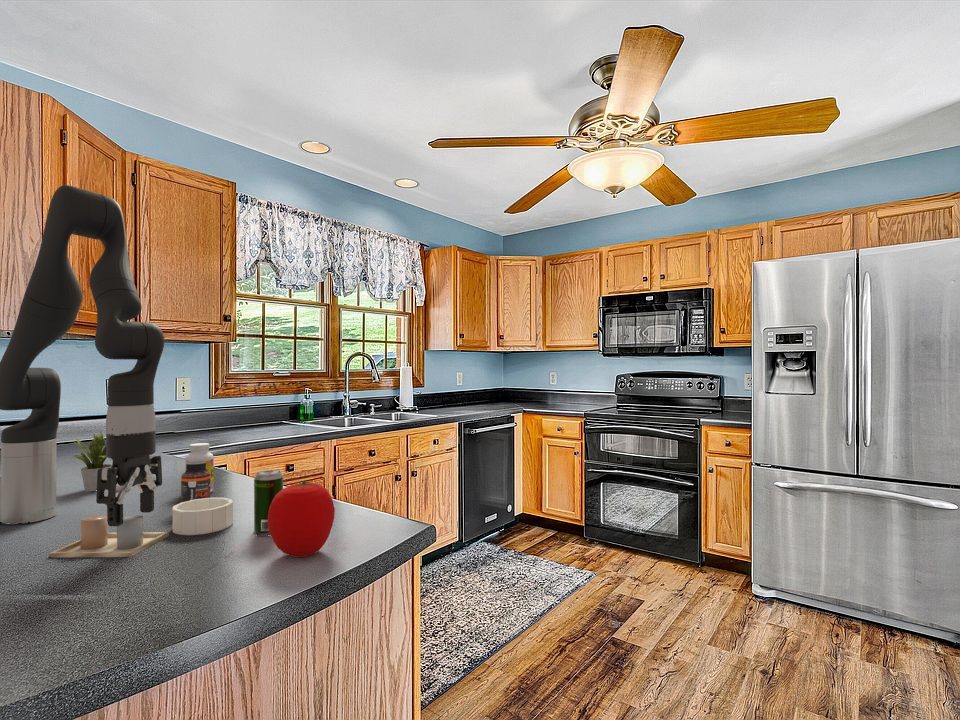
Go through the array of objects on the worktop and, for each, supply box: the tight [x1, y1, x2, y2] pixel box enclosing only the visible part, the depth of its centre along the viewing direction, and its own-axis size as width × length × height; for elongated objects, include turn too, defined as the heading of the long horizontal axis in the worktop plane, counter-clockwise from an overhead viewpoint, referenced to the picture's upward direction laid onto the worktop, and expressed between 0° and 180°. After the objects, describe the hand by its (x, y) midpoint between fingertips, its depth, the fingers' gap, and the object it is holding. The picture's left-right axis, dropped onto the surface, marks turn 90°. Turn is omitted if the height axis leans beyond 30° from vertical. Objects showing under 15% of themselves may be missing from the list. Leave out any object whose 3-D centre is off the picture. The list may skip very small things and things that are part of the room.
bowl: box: [172, 497, 234, 536], centre depth 106 cm, size 11×11×5 cm
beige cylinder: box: [80, 515, 109, 550], centre depth 94 cm, size 4×4×5 cm
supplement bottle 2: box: [180, 461, 211, 503], centre depth 118 cm, size 6×6×11 cm
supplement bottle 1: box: [184, 442, 215, 493], centre depth 137 cm, size 7×7×13 cm
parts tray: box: [48, 531, 170, 559], centre depth 94 cm, size 14×11×1 cm
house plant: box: [72, 430, 112, 492], centre depth 141 cm, size 14×14×16 cm
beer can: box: [253, 469, 284, 537], centre depth 103 cm, size 5×5×12 cm
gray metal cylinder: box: [116, 514, 144, 550], centre depth 94 cm, size 4×4×5 cm
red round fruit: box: [268, 480, 336, 558], centre depth 91 cm, size 11×11×13 cm
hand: (131, 518), depth 94 cm, fingers open, 8 cm apart
